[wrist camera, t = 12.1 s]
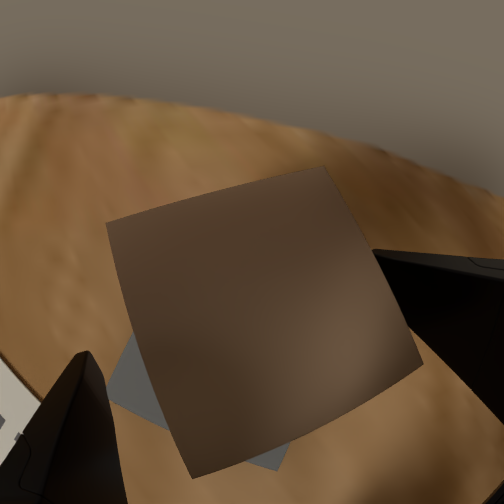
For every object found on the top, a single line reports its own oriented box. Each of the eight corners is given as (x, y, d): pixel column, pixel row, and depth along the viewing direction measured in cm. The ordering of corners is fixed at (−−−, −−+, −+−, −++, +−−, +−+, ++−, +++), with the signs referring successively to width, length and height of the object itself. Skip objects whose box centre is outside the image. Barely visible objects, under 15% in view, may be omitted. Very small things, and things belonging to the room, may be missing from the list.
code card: (94, 450, 14) (93, 451, 13) (35, 536, 10) (33, 537, 10) (-8, 347, 14) (-10, 346, 14) (-56, 437, 11) (-58, 437, 10)
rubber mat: (335, 311, 19) (339, 309, 19) (274, 468, 15) (277, 471, 14) (183, 243, 19) (182, 239, 19) (105, 395, 15) (102, 395, 14)
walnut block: (294, 382, 16) (423, 364, 6) (196, 421, 15) (192, 478, 5) (255, 289, 18) (324, 166, 8) (158, 322, 17) (105, 223, 7)
